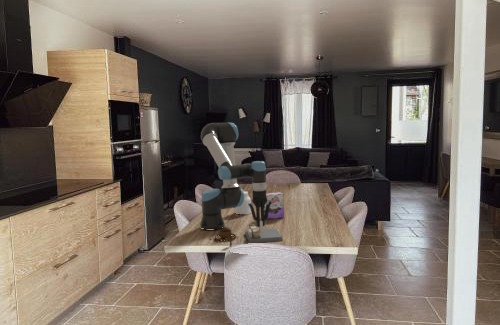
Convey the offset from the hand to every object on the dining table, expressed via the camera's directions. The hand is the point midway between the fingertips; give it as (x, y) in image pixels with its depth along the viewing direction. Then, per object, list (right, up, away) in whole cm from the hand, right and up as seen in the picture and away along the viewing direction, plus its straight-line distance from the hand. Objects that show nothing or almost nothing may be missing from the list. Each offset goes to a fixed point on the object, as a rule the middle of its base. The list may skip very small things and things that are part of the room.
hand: (260, 232), depth 205 cm
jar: (-11, +2, +61) cm, 62 cm away
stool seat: (+1, -3, +4) cm, 6 cm away
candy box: (+9, +1, +46) cm, 47 cm away
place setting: (-20, -5, +1) cm, 21 cm away
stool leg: (-4, -1, +4) cm, 5 cm away
